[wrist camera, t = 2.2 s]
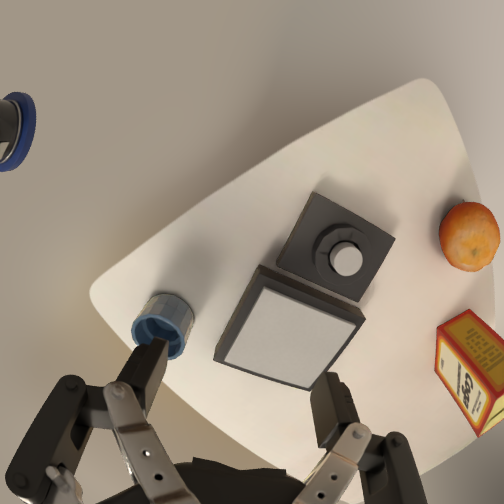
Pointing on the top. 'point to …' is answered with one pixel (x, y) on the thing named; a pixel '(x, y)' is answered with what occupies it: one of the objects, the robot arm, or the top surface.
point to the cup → (164, 323)
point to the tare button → (346, 259)
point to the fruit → (469, 236)
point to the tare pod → (325, 239)
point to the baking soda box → (472, 369)
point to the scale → (286, 331)
